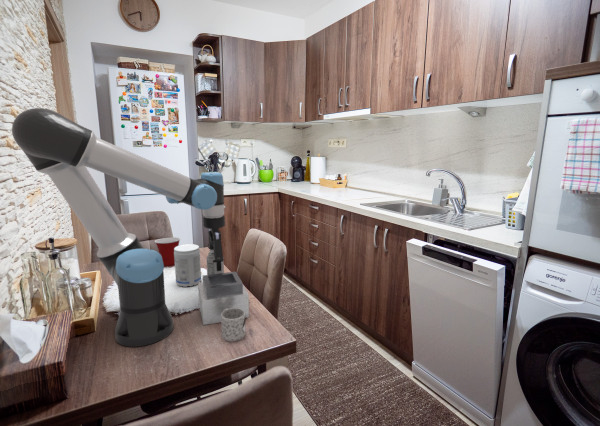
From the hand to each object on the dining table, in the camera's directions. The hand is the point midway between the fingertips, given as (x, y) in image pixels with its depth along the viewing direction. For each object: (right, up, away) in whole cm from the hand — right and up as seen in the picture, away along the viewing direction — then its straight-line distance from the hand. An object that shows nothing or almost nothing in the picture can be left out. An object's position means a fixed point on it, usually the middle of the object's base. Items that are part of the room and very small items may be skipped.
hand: (216, 272), depth 121 cm
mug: (+11, -13, -25) cm, 31 cm away
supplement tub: (-13, -6, +9) cm, 17 cm away
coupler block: (+6, -10, -13) cm, 18 cm away
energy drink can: (0, -8, +1) cm, 8 cm away
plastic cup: (-29, -2, +29) cm, 41 cm away
